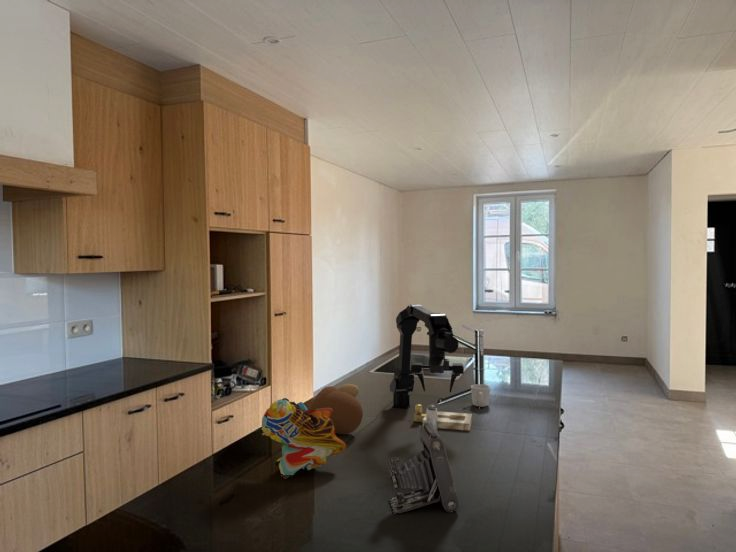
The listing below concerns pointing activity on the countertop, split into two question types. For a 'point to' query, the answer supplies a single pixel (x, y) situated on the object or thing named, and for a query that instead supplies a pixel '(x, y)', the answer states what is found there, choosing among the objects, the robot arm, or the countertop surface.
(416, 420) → the pin
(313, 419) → the multicolored irregular chunky piece
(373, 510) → the countertop surface
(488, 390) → the cup
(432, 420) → the cylinder
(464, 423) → the dock
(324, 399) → the toy
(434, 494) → the camera
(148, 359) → the countertop surface
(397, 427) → the countertop surface
